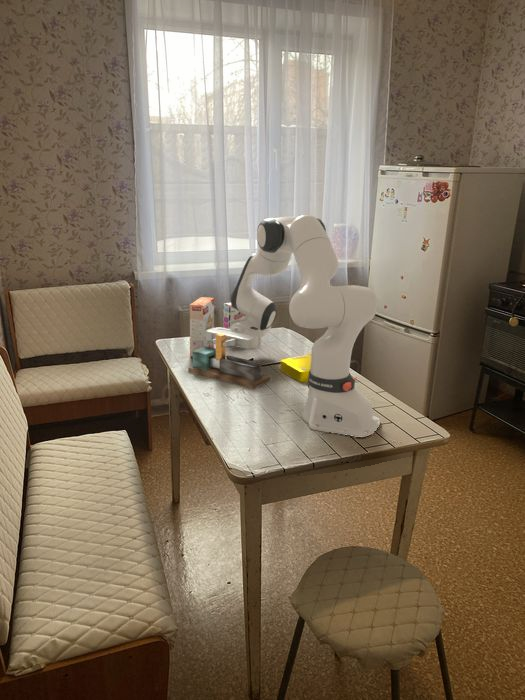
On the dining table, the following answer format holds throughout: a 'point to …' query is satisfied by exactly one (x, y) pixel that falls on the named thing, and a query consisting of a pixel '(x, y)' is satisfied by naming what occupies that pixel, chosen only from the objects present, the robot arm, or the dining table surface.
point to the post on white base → (218, 352)
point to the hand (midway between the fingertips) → (219, 343)
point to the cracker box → (201, 323)
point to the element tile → (297, 367)
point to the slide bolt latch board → (228, 369)
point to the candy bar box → (231, 316)
